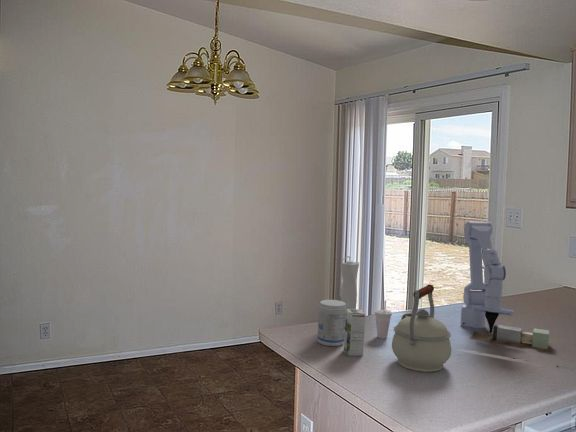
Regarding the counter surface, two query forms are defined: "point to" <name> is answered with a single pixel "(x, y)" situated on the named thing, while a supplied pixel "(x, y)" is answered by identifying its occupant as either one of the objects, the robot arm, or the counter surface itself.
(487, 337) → the walnut board
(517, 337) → the metal sleeve
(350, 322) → the syrup box
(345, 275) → the white bottle
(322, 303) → the supplement tub
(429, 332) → the kettle
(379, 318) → the smoothie
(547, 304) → the counter surface
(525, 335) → the slip rod
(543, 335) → the socket block
